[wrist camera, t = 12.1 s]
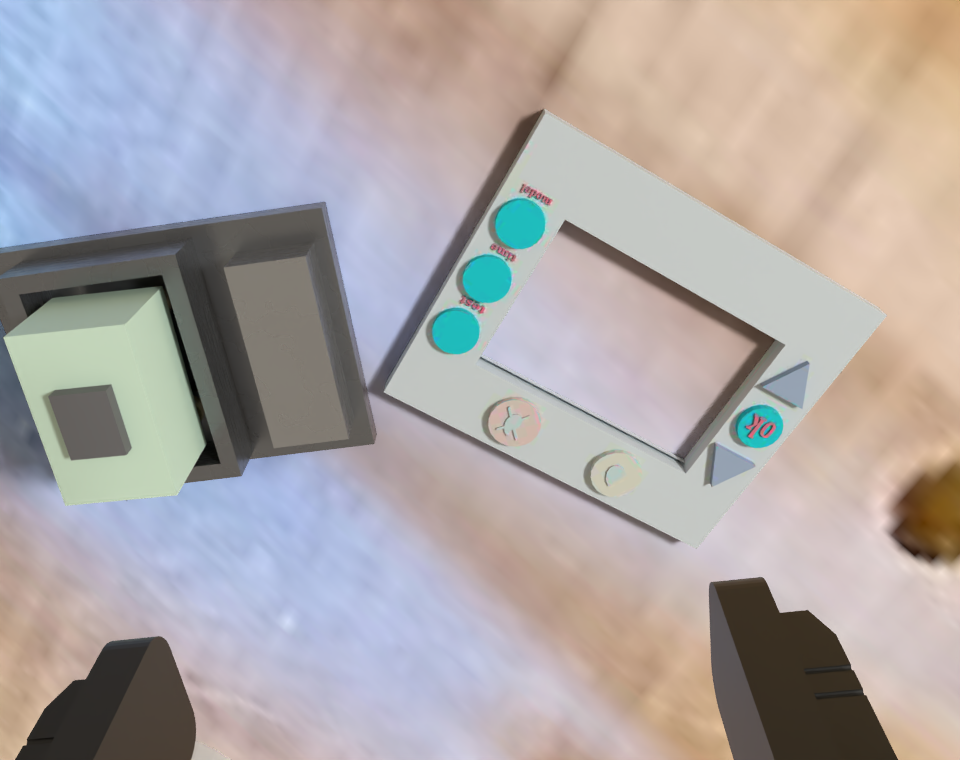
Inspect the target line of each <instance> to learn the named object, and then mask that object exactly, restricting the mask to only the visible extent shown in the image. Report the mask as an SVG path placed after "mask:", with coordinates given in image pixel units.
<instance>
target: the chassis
mask: <svg viewBox="0 0 960 760" xmlns="http://www.w3.org/2000/svg"><path fill="white" fill-rule="evenodd" d="M157 286H163V290H164V294H165V297H166V301H167V304H168V308H169V311H170V315H171V318H172V322H173V326H174V329H175V333H176V336H177V340H178V343H179V347H180V351H181V354H182V358H183V361H184V365H185V368H186V372H187V375H188V379H189V383H190V386H191V390H192V393H193V397H194V400H195V404H196V408H197V411H198V415H199V418H200V422H201V425H202V429H203V432H204V436H205V440H206V443H207V444H206V446H205V448H204V449H203V451H202V453H201V455H200V456H199V458H198V460H197V462H196V463H195V465H194V467H193V469H192V470H191V472H190V474H189V476H188V477H187V479H186V481H185V482H184V483H189V482H197V481H205V480H213V479H222V478H230V477H238V476H242V474H243V472H244V470H245V468H246V466H247V464H248V461H249V459H255V458H263V457H271V456H279V455H288V454H296V453H304V452H312V451H320V450H328V449H337V448H345V447H353V446H361V445H369V444H374V443H375V439H376V435H377V433H376V429H375V424H374V420H373V415H372V411H371V406H370V402H369V397H368V393H367V388H366V384H365V379H364V375H363V370H362V366H361V361H360V357H359V352H358V348H357V343H356V338H355V334H354V329H353V325H352V320H351V316H350V311H349V307H348V302H347V298H346V293H345V289H344V284H343V280H342V275H341V271H340V266H339V262H338V257H337V253H336V248H335V244H334V239H333V234H332V230H331V225H330V221H329V216H328V212H327V207H326V203H325V202H321V203H314V204H307V205H300V206H293V207H286V208H279V209H272V210H265V211H258V212H251V213H244V214H237V215H229V216H222V217H215V218H208V219H201V220H194V221H187V222H180V223H173V224H166V225H159V226H152V227H145V228H138V229H131V230H124V231H117V232H110V233H103V234H96V235H89V236H82V237H75V238H68V239H61V240H54V241H47V242H40V243H33V244H26V245H19V246H12V247H5V248H0V320H1V322H2V325H3V327H4V330H5V332H6V335H7V334H8V333H9V332H10V331H12V330H13V329H14V328H15V327H17V326H18V325H19V324H20V323H22V322H23V321H24V320H25V319H27V318H28V317H29V316H30V315H32V314H33V313H34V312H35V311H37V310H38V309H39V308H41V307H42V306H43V305H44V304H46V303H47V302H48V301H49V300H51V299H52V298H56V297H65V296H74V295H83V294H93V293H102V292H111V291H120V290H130V289H139V288H148V287H157Z"/></svg>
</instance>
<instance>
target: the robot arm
mask: <svg viewBox="0 0 960 760" xmlns="http://www.w3.org/2000/svg"><path fill="white" fill-rule="evenodd" d="M709 609H710V638H711V665H712V675H713V682H714V688H715V694H716V699H717V703H718V707H719V711H720V714H721V718H722V721H723V724H724V728H725V731H726V735H727V738H728V741H729V745H730V748H731V752H732V755H733V758H734V760H898V759H897V757H896V755H895V753H894V751H893V749H892V747H891V745H890V743H889V741H888V739H887V737H886V735H885V733H884V731H883V729H882V727H881V725H880V723H879V720H878V718H877V716H876V714H875V712H874V710H873V708H872V706H871V704H870V702H869V700H868V698H867V696H866V695H864V693H863V688H862V686H861V684H860V682H859V680H858V678H857V676H856V674H855V672H854V670H852V669H851V664H850V662H849V660H848V658H847V656H846V654H845V652H844V650H843V648H842V646H841V644H840V642H839V640H838V638H837V636H836V634H835V633H833V632H832V631H831V630H830V629H829V628H828V627H827V626H825V625H824V624H823V623H822V622H821V621H820V620H818V619H817V618H816V617H815V616H814V615H813V614H812V613H810V612H809V611H808V610H805V611H795V612H785V613H779V610H778V608H777V606H776V603H775V601H774V599H773V596H772V594H771V592H770V589H769V587H768V585H767V583H766V581H765V579H764V578H762V577H758V578H748V579H738V580H729V581H719V582H711V583H710V585H709ZM195 738H196V724H195V717H194V712H193V709H192V706H191V703H190V701H189V698H188V695H187V692H186V690H185V687H184V684H183V682H182V679H181V676H180V674H179V671H178V668H177V665H176V663H175V660H174V657H173V655H172V652H171V649H170V647H169V644H168V643H167V641H166V640H165V639H164V638H162V637H159V636H158V637H148V638H139V639H129V640H119V641H111V642H109V643H107V644H106V645H105V646H104V648H103V649H102V651H101V653H100V655H99V657H98V658H97V660H96V662H95V664H94V666H93V667H92V669H91V671H90V673H89V675H88V677H87V678H86V679H85V680H75V681H73V682H72V683H71V684H70V685H69V686H68V687H67V688H66V689H65V690H64V691H63V692H62V693H61V694H60V695H59V696H57V697H56V698H55V699H54V700H53V701H52V702H51V703H50V704H49V705H48V706H47V707H46V708H45V709H44V711H43V713H42V714H41V716H40V718H39V720H38V721H37V723H36V725H35V726H34V728H33V730H32V732H31V733H30V735H29V737H28V738H27V745H26V746H23V747H22V749H21V751H20V752H19V754H18V756H17V757H16V759H15V760H191V758H192V755H193V751H194V747H195Z"/></svg>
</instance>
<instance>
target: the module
mask: <svg viewBox="0 0 960 760" xmlns="http://www.w3.org/2000/svg"><path fill="white" fill-rule="evenodd" d="M3 338H4V341H5V343H6V346H7V349H8V351H9V354H10V357H11V359H12V362H13V365H14V368H15V370H16V373H17V376H18V378H19V381H20V384H21V387H22V389H23V392H24V395H25V397H26V400H27V403H28V405H29V408H30V411H31V414H32V416H33V419H34V422H35V424H36V427H37V430H38V433H39V435H40V438H41V441H42V443H43V446H44V449H45V451H46V454H47V457H48V460H49V462H50V465H51V468H52V470H53V473H54V476H55V479H56V481H57V484H58V487H59V489H60V492H61V495H62V497H63V500H64V503H65V506H67V505H78V504H89V503H99V502H110V501H120V500H131V499H142V498H152V497H163V496H173V495H178V493H179V491H180V489H181V488H182V486H183V484H184V482H185V481H186V479H187V477H188V476H189V474H190V472H191V470H192V469H193V467H194V465H195V463H196V462H197V460H198V458H199V456H200V455H201V453H202V451H203V449H204V448H205V446H206V444H207V443H206V440H205V436H204V432H203V429H202V425H201V422H200V418H199V415H198V411H197V408H196V404H195V400H194V397H193V393H192V390H191V386H190V383H189V379H188V375H187V372H186V368H185V365H184V361H183V358H182V354H181V351H180V347H179V343H178V340H177V336H176V333H175V329H174V326H173V322H172V318H171V315H170V311H169V308H168V304H167V301H166V297H165V294H164V290H163V286H157V287H148V288H139V289H130V290H120V291H111V292H102V293H93V294H83V295H74V296H65V297H56V298H52V299H51V300H49V301H48V302H47V303H46V304H44V305H43V306H42V307H41V308H39V309H38V310H37V311H35V312H34V313H33V314H32V315H30V316H29V317H28V318H27V319H25V320H24V321H23V322H22V323H20V324H19V325H18V326H17V327H15V328H14V329H13V330H12V331H10V332H9V333H8V334H7V335H5V336H4V337H3Z"/></svg>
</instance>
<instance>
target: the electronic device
mask: <svg viewBox="0 0 960 760" xmlns="http://www.w3.org/2000/svg"><path fill="white" fill-rule="evenodd" d="M565 220H567V221H568V222H570V223H572V224H574V225H575V226H577V227H579V228H581V229H582V230H584V231H586V232H588V233H590V234H591V235H593V236H595V237H597V238H598V239H600V240H602V241H604V242H605V243H607V244H609V245H611V246H612V247H614V248H616V249H618V250H619V251H621V252H623V253H625V254H626V255H628V256H630V257H632V258H633V259H635V260H637V261H639V262H641V263H642V264H644V265H646V266H648V267H649V268H651V269H653V270H655V271H656V272H658V273H660V274H662V275H663V276H665V277H667V278H669V279H670V280H672V281H674V282H676V283H677V284H679V285H681V286H683V287H684V288H686V289H688V290H690V291H692V292H693V293H695V294H697V295H699V296H700V297H702V298H704V299H706V300H707V301H709V302H711V303H713V304H714V305H716V306H718V307H720V308H721V309H723V310H725V311H727V312H728V313H730V314H732V315H734V316H735V317H737V318H739V319H741V320H742V321H744V322H746V323H748V324H750V325H751V326H753V327H755V328H757V329H758V330H760V331H762V332H764V333H765V334H767V335H769V336H771V337H772V338H774V339H776V340H775V341H774V342H773V344H772V345H771V346H770V348H769V349H768V350H767V352H766V353H765V354H764V355H763V357H762V358H761V359H760V361H759V362H758V363H757V365H756V366H755V367H754V368H753V370H752V371H751V372H750V374H749V375H748V376H747V378H746V379H745V380H744V381H743V383H742V384H741V385H740V387H739V388H738V389H737V391H736V392H735V393H734V394H733V396H732V397H731V398H730V400H729V401H728V402H727V404H726V405H725V406H724V407H723V409H722V410H721V411H720V413H719V414H718V415H717V417H716V418H715V419H714V420H713V422H712V423H711V424H710V426H709V427H708V428H707V430H706V431H705V432H704V433H703V435H702V436H701V437H700V439H699V440H698V441H697V443H696V444H695V445H694V446H693V448H692V449H691V450H690V452H689V453H688V454H687V456H686V457H685V458H684V459H682V458H680V457H678V456H676V455H674V454H673V453H671V452H669V451H667V450H665V449H663V448H661V447H659V446H657V445H655V444H653V443H651V442H650V441H648V440H646V439H644V438H642V437H640V436H638V435H636V434H634V433H632V432H630V431H628V430H627V429H625V428H623V427H621V426H619V425H617V424H615V423H613V422H611V421H609V420H607V419H605V418H604V417H602V416H600V415H598V414H596V413H594V412H592V411H590V410H588V409H586V408H584V407H582V406H581V405H579V404H577V403H575V402H573V401H571V400H569V399H567V398H565V397H563V396H561V395H559V394H558V393H556V392H554V391H552V390H550V389H548V388H546V387H544V386H542V385H540V384H538V383H536V382H535V381H533V380H531V379H529V378H527V377H525V376H523V375H521V374H519V373H517V372H515V371H513V370H512V369H510V368H508V367H506V366H504V365H502V364H500V363H498V362H496V361H494V360H492V359H490V358H489V357H487V356H485V355H483V354H482V353H483V351H484V350H485V348H486V346H487V345H488V343H489V342H490V340H491V338H492V337H493V335H494V334H495V332H496V330H497V329H498V327H499V325H500V324H501V322H502V321H503V319H504V317H505V316H506V314H507V313H508V311H509V309H510V308H511V306H512V304H513V303H514V301H515V300H516V298H517V296H518V295H519V293H520V292H521V290H522V288H523V287H524V285H525V284H526V282H527V280H528V279H529V277H530V275H531V274H532V272H533V271H534V269H535V267H536V266H537V264H538V263H539V261H540V259H541V258H542V256H543V254H544V253H545V251H546V250H547V248H548V246H549V245H550V243H551V242H552V240H553V238H554V237H555V235H556V233H557V232H558V230H559V229H560V227H561V225H562V224H563V222H564V221H565ZM886 316H887V315H886V314H885V313H884V312H883V311H882V310H881V309H879V308H878V307H877V306H875V305H874V304H872V303H870V302H869V301H867V300H865V299H864V298H862V297H860V296H859V295H857V294H855V293H854V292H852V291H850V290H849V289H847V288H845V287H844V286H842V285H840V284H838V283H837V282H835V281H833V280H832V279H830V278H828V277H827V276H825V275H823V274H822V273H820V272H818V271H817V270H815V269H813V268H812V267H810V266H808V265H806V264H805V263H803V262H801V261H800V260H798V259H796V258H795V257H793V256H791V255H790V254H788V253H786V252H785V251H783V250H781V249H780V248H778V247H776V246H775V245H773V244H771V243H769V242H768V241H766V240H764V239H763V238H761V237H759V236H758V235H756V234H754V233H753V232H751V231H749V230H748V229H746V228H744V227H743V226H741V225H739V224H738V223H736V222H734V221H732V220H731V219H729V218H727V217H726V216H724V215H722V214H721V213H719V212H717V211H716V210H714V209H712V208H711V207H709V206H707V205H706V204H704V203H702V202H700V201H699V200H697V199H695V198H694V197H692V196H690V195H689V194H687V193H685V192H684V191H682V190H680V189H679V188H677V187H675V186H674V185H672V184H670V183H669V182H667V181H665V180H663V179H662V178H660V177H658V176H657V175H655V174H653V173H652V172H650V171H648V170H647V169H645V168H643V167H642V166H640V165H638V164H637V163H635V162H633V161H632V160H630V159H628V158H626V157H625V156H623V155H621V154H620V153H618V152H616V151H615V150H613V149H611V148H610V147H608V146H606V145H605V144H603V143H601V142H600V141H598V140H596V139H594V138H593V137H591V136H589V135H588V134H586V133H584V132H583V131H581V130H579V129H578V128H576V127H574V126H573V125H571V124H569V123H568V122H566V121H564V120H563V119H561V118H559V117H557V116H556V115H554V114H552V113H551V112H549V111H547V110H546V109H544V110H543V112H542V113H541V115H540V117H539V118H538V120H537V122H536V124H535V125H534V127H533V129H532V131H531V132H530V134H529V136H528V138H527V139H526V141H525V143H524V144H523V146H522V148H521V150H520V151H519V153H518V155H517V157H516V158H515V160H514V162H513V163H512V165H511V167H510V169H509V170H508V172H507V174H506V176H505V177H504V179H503V181H502V182H501V184H500V186H499V188H498V189H497V191H496V193H495V195H494V196H493V198H492V200H491V201H490V203H489V205H488V207H487V208H486V210H485V212H484V214H483V215H482V217H481V219H480V221H479V222H478V224H477V226H476V227H475V229H474V231H473V233H472V234H471V236H470V238H469V240H468V241H467V243H466V245H465V246H464V248H463V250H462V252H461V253H460V255H459V257H458V259H457V260H456V262H455V264H454V265H453V267H452V269H451V271H450V272H449V274H448V276H447V278H446V279H445V281H444V283H443V285H442V286H441V288H440V290H439V291H438V293H437V295H436V297H435V298H434V300H433V302H432V304H431V305H430V307H429V309H428V310H427V312H426V314H425V316H424V317H423V319H422V321H421V323H420V324H419V326H418V328H417V329H416V331H415V333H414V335H413V336H412V338H411V340H410V342H409V343H408V345H407V347H406V349H405V350H404V352H403V354H402V355H401V357H400V359H399V361H398V362H397V364H396V366H395V368H394V369H393V371H392V373H391V374H390V376H389V378H388V380H387V381H386V384H385V388H384V393H386V394H388V395H390V396H392V397H394V398H396V399H398V400H400V401H402V402H404V403H406V404H408V405H410V406H412V407H414V408H416V409H418V410H420V411H422V412H424V413H426V414H428V415H430V416H432V417H434V418H436V419H438V420H440V421H442V422H444V423H446V424H448V425H450V426H452V427H454V428H456V429H458V430H460V431H462V432H464V433H466V434H468V435H470V436H472V437H474V438H476V439H478V440H480V441H482V442H484V443H486V444H488V445H490V446H492V447H494V448H496V449H498V450H500V451H502V452H504V453H506V454H508V455H510V456H512V457H514V458H516V459H518V460H520V461H522V462H524V463H526V464H528V465H530V466H532V467H534V468H536V469H538V470H540V471H542V472H544V473H546V474H548V475H550V476H552V477H554V478H556V479H558V480H560V481H562V482H564V483H566V484H568V485H570V486H572V487H574V488H576V489H578V490H580V491H582V492H584V493H586V494H588V495H590V496H592V497H594V498H596V499H598V500H600V501H602V502H604V503H606V504H608V505H610V506H612V507H614V508H616V509H618V510H620V511H622V512H624V513H626V514H628V515H630V516H632V517H634V518H636V519H638V520H640V521H642V522H644V523H646V524H648V525H650V526H652V527H654V528H656V529H658V530H660V531H662V532H664V533H666V534H668V535H670V536H672V537H674V538H676V539H678V540H680V541H682V542H684V543H686V544H688V545H690V546H692V547H694V548H696V549H697V548H698V547H699V545H700V544H701V543H702V542H703V540H704V539H705V538H706V537H707V535H708V534H709V533H710V532H711V531H712V529H713V528H714V527H715V526H716V524H717V523H718V522H719V521H720V520H721V518H722V517H723V516H724V515H725V513H726V512H727V511H728V510H729V509H730V507H731V506H732V505H733V504H734V502H735V501H736V500H737V499H738V497H739V496H740V495H741V494H742V493H743V491H744V490H745V489H746V488H747V486H748V485H749V484H750V483H751V482H752V480H753V479H754V478H755V477H756V475H757V474H758V473H759V472H760V470H761V469H762V468H763V467H764V466H765V464H766V463H767V462H768V461H769V459H770V458H771V457H772V456H773V455H774V453H775V452H776V451H777V450H778V448H779V447H780V446H781V445H782V444H783V442H784V441H785V440H786V439H787V437H788V436H789V435H790V434H791V432H792V431H793V430H794V429H795V428H796V426H797V425H798V424H799V423H800V421H801V420H802V419H803V418H804V417H805V415H806V414H807V413H808V412H809V410H810V409H811V408H812V407H813V406H814V404H815V403H816V402H817V401H818V399H819V398H820V397H821V396H822V394H823V393H824V392H825V391H826V390H827V388H828V387H829V386H830V385H831V383H832V382H833V381H834V380H835V379H836V377H837V376H838V375H839V374H840V372H841V371H842V370H843V369H844V368H845V366H846V365H847V364H848V363H849V361H850V360H851V359H852V358H853V356H854V355H855V354H856V353H857V352H858V350H859V349H860V348H861V347H862V345H863V344H864V343H865V342H866V341H867V339H868V338H869V337H870V336H871V334H872V333H873V332H874V331H875V330H876V328H877V327H878V326H879V325H880V323H881V322H882V321H883V320H884V318H885V317H886ZM481 357H482V358H481ZM483 358H484V359H483ZM485 359H486V360H485ZM487 360H488V361H487ZM489 361H490V362H489ZM491 362H492V363H494V364H495V365H494V364H492V363H491ZM496 365H497V366H496ZM498 366H499V367H498ZM500 367H501V368H500ZM502 368H503V369H502ZM504 369H505V370H504ZM506 370H507V371H506ZM508 371H509V372H508ZM510 372H511V373H510ZM512 373H513V374H512ZM514 374H515V375H517V376H519V377H520V378H519V377H517V376H515V375H514ZM521 378H522V379H521ZM523 379H524V380H523ZM525 380H526V381H525ZM527 381H528V382H527ZM529 382H530V383H529ZM531 383H532V384H531ZM533 384H534V385H533ZM535 385H536V386H535ZM537 386H538V387H537ZM539 387H540V388H542V389H543V390H542V389H540V388H539ZM544 390H545V391H544ZM546 391H547V392H546ZM548 392H549V393H548ZM550 393H551V394H550ZM552 394H553V395H552ZM554 395H555V396H554ZM556 396H557V397H556ZM558 397H559V398H558ZM560 398H561V399H560ZM562 399H563V400H565V401H566V402H565V401H563V400H562ZM567 402H568V403H567ZM569 403H570V404H569ZM571 404H572V405H571ZM573 405H574V406H573ZM575 406H576V407H575ZM577 407H578V408H577ZM579 408H580V409H579ZM581 409H582V410H581ZM583 410H584V411H583ZM585 411H586V412H585ZM587 412H588V413H589V414H588V413H587ZM590 414H591V415H590ZM592 415H593V416H592ZM594 416H595V417H594ZM596 417H597V418H596ZM598 418H599V419H598ZM600 419H601V420H600ZM602 420H603V421H602ZM604 421H605V422H604ZM606 422H607V423H606ZM608 423H609V424H608ZM610 424H611V425H610ZM613 426H614V427H613ZM615 427H616V428H615ZM617 428H618V429H617ZM619 429H620V430H619ZM621 430H622V431H621ZM623 431H624V432H623ZM625 432H626V433H625ZM627 433H628V434H627ZM629 434H630V435H629ZM631 435H632V436H631ZM633 436H634V437H633ZM636 438H637V439H636ZM638 439H639V440H638ZM640 440H641V441H640ZM642 441H643V442H642ZM644 442H645V443H644ZM646 443H647V444H646ZM648 444H649V445H648ZM650 445H651V446H650ZM652 446H653V447H652ZM654 447H655V448H654ZM656 448H657V449H656ZM661 451H662V452H661ZM663 452H664V453H663ZM665 453H666V454H665ZM667 454H668V455H667ZM669 455H670V456H669ZM671 456H672V457H671ZM673 457H674V458H673ZM675 458H676V459H675ZM677 459H678V460H677ZM679 460H680V461H679ZM681 461H682V462H681Z"/></svg>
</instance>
